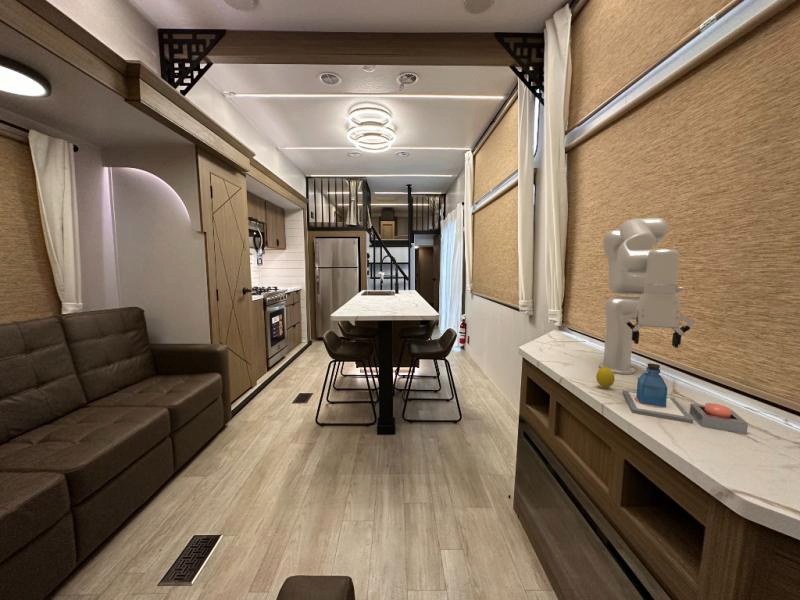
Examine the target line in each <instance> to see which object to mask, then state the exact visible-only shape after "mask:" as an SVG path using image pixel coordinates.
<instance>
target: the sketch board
mask: <svg viewBox="0 0 800 600" xmlns="http://www.w3.org/2000/svg"><path fill="white" fill-rule="evenodd" d="M621 392H622V393H621V394H622V395H623V397H624V399H625V402H626V403H627V406H628V407H629V410H630V412H631V413H633V414H637V415H642V416H648V417H653V418H654V417H655V418H660V419H665V420H670V421H671V420H672V421H676V422H683V423H688V424H694V418H693V417H691V415H690V413H688V412H687V411H686V409H684V407H682V405H681V404H680V403H679V402H678V401H677V399H675V398H674V397H670V396H667V400H666V408H665V407H659V406H653V405H646V404H641V403H640V402H639V400H638V398H637V397H636V394H637V391H630V390H624V389H623V390H622V391H621Z"/></svg>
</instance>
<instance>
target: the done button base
mask: <svg viewBox="0 0 800 600" xmlns="http://www.w3.org/2000/svg"><path fill="white" fill-rule="evenodd" d="M704 410H705V404H703V405H702V404H696V403H690V405H689V415H690V416H692V418H693V419H694V420H695V421H696V422H697V423H698V425H700V426H701V427H702V428H710V429H715V430H721V431H727V432H732V433H738V434H743V435H744V434H745V435H747V434H748V429H749V428H748V427H749V423H748V422H747V421H746V420H745V419H743V418H742V417H741V416H740V415H739V414H737V413H736V412H735V411H734V410H733V409H731V418H730V419H729V418H723V417H717V416H711V415H707V414H706V413H705V412H704Z"/></svg>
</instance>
